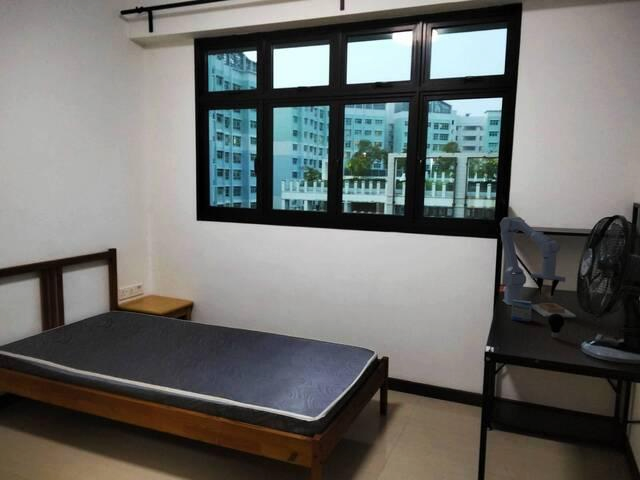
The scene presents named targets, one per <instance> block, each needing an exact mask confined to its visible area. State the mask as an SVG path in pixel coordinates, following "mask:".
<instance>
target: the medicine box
mask: <svg viewBox="0 0 640 480" xmlns="http://www.w3.org/2000/svg"><path fill="white" fill-rule="evenodd" d="M532 305H533V302H532V301H530V300H522V299H521V300H515V299H513V302H512V305H511V317H510V319H511V320H512V321H519V322H526V323H530V322H531V320H532Z"/></svg>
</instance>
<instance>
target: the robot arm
mask: <svg viewBox="0 0 640 480" xmlns="http://www.w3.org/2000/svg"><path fill="white" fill-rule="evenodd" d="M499 226H500V238H501V239H500V240H501V243H502V249H503V254H504V258H505V263H506V269H505V271H504V272H503V274H504V276H503V282H504V284H505V288H504V294H503V295H504V297H503V299H502V302H504V303H505V304H507V305H508V306H512V302H513V299H515V300H522V298H523V297H522V295H523V287H524V285H525V284H526V283H527V276H526V275H525V273H524V270H523V269H522V268H521V267H520V266H519V265H520V264H519V260H518V256H517V251H516V245H515V242H514V238H513V237H514V236H515V234H516V233H518V232H519V231H521V232H523V233H524V234H525V235H527V236H529V237H530V241H531V242H532V243H534V244H535V245H536V246H538V247H539V248H540V251H541V256H542V263H541V264H542V265H541V273H530V279H536V284H537V285H538V289H539V295H540V296H541V287H542V286H543V285H544V280H546V281H552V282H551V286H552V292H551V296H552V297H553V296H554V294H555V290H556V288H557V287H558V285H559V283H560V282H562V283H565V282H566V280H567V279H566V276H559V275H556V268H557V256H558V253H559V252H560V250H561V245H560V243H559V242H558V240H552V238H551V237H548V236H546V235H545V234H544V231H536V230H535V229H533V228H532V227H531V226H530V225H529V224H528V223H527V222H525V220H524V219H523V218H522V217H520V216H516V217H507V216H506V217H503V218H502V219H501V221H500V222H499Z"/></svg>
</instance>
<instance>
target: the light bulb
mask: <svg viewBox="0 0 640 480" xmlns="http://www.w3.org/2000/svg"><path fill="white" fill-rule="evenodd" d="M547 318H548V319H547V322H548V325H549V326H550V331H551V336H552V338H554V339H557V338H559V337H560V336H559V335H560V332H561V329H562V328H563V327H564V325H565V321H566V320H565V317H563V316H561V315H560V314H552V315H550V316H549V317H547Z"/></svg>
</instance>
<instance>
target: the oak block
mask: <svg viewBox="0 0 640 480" xmlns="http://www.w3.org/2000/svg"><path fill="white" fill-rule="evenodd" d="M551 292H552V284H551V285H549V284H543V286H542V287H541V295H540V300H543V301H551V300H552V299H553V296H551Z"/></svg>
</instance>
